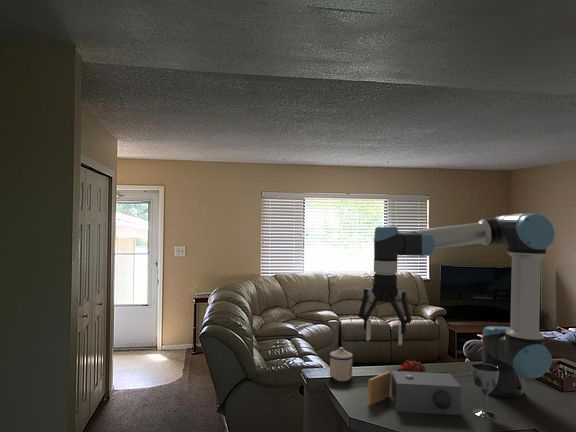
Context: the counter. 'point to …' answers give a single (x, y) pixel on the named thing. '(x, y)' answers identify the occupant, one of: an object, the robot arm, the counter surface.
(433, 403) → the camera case
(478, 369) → the wine glass
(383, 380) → the door
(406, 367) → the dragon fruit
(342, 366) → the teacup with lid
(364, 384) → the counter surface
